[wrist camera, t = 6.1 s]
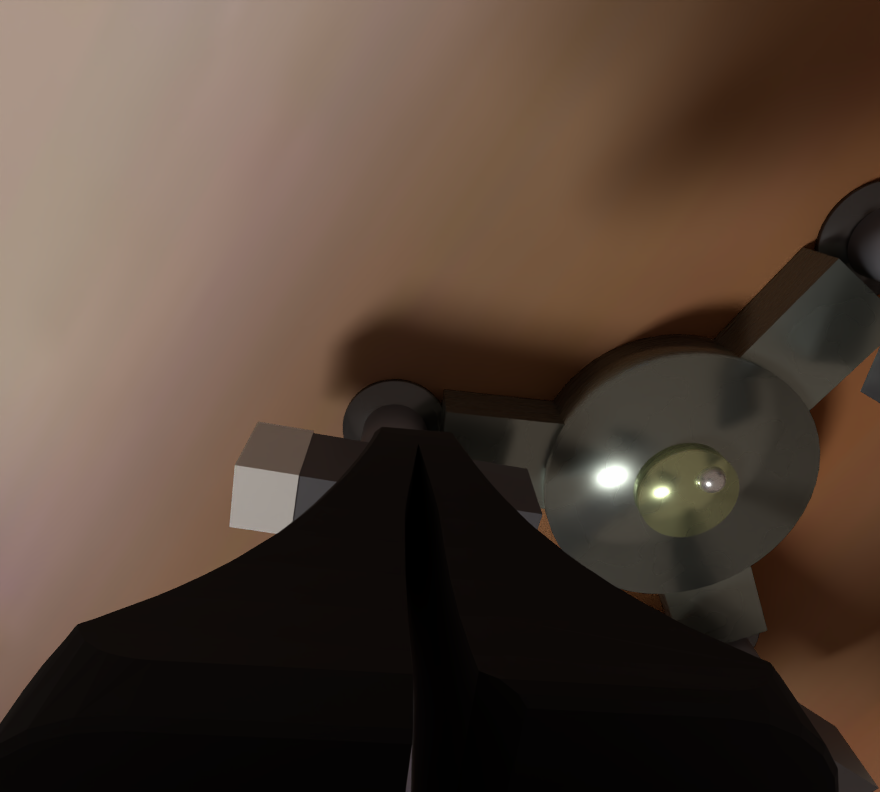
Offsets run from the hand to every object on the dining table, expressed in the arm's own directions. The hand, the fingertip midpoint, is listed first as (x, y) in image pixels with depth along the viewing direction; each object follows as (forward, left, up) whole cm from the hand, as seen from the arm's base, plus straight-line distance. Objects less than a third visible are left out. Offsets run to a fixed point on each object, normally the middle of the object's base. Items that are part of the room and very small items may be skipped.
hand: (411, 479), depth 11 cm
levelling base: (-4, -7, -10) cm, 13 cm away
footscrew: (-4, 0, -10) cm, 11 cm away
